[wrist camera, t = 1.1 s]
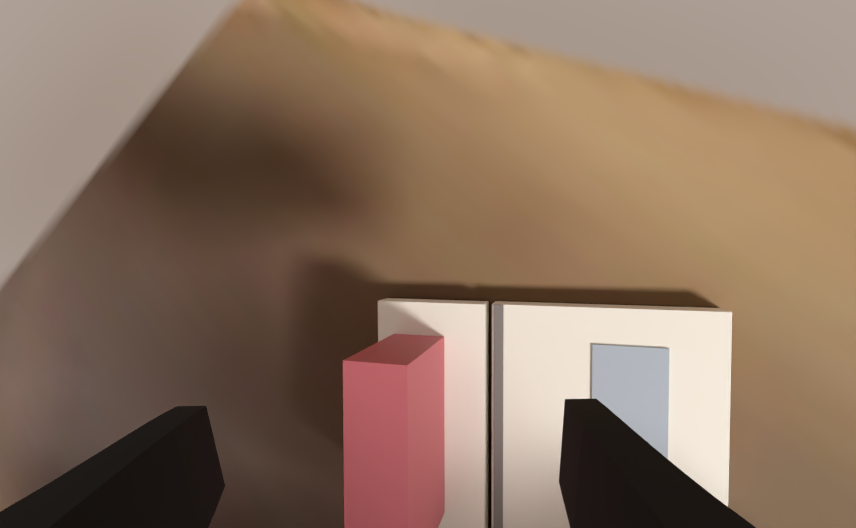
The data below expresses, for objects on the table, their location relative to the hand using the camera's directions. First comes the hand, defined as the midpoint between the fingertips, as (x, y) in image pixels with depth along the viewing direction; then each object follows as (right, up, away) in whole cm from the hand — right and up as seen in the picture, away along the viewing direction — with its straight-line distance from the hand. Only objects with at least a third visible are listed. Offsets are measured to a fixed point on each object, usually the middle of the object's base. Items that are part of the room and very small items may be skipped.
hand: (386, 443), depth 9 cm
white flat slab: (+8, -4, +10) cm, 14 cm away
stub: (+1, -4, +12) cm, 13 cm away
